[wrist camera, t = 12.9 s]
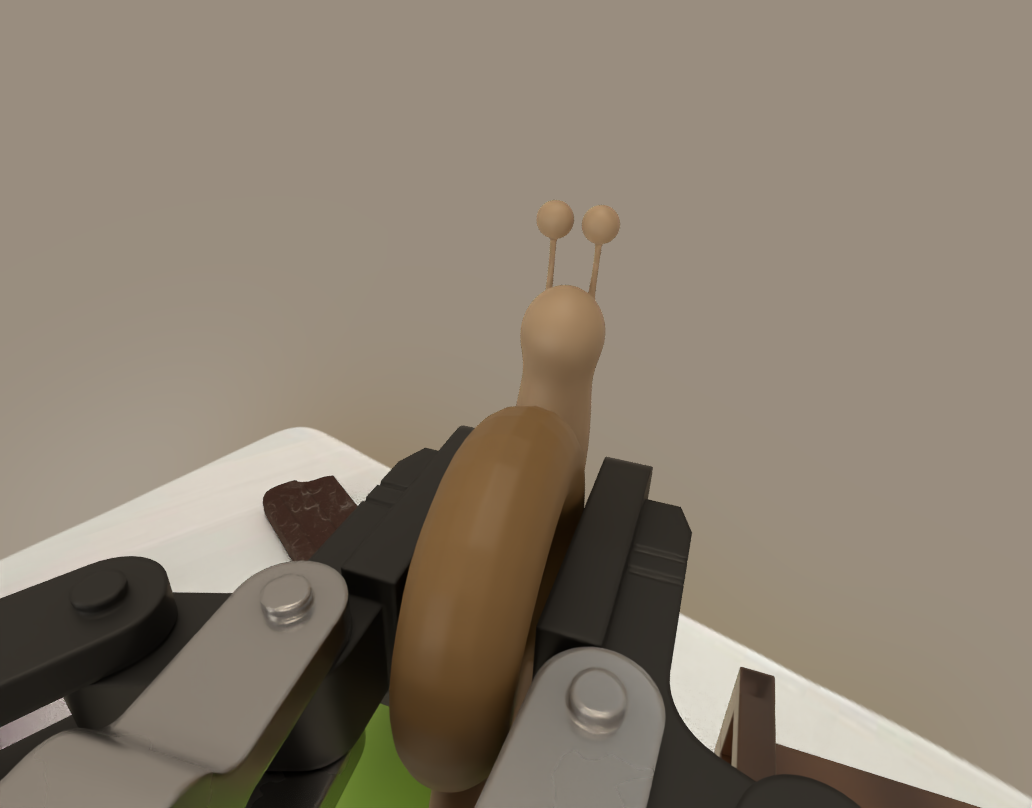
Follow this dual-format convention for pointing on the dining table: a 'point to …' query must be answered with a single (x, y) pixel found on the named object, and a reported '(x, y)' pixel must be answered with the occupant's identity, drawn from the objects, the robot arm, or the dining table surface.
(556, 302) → the snail figurine
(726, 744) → the chair
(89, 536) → the dining table surface
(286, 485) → the ice cream bar
